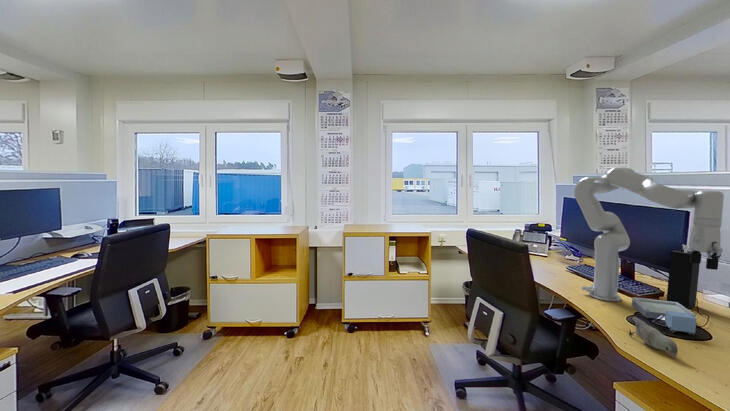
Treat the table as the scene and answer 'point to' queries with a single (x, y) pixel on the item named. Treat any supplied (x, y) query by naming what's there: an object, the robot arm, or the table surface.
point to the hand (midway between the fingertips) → (703, 265)
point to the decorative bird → (654, 338)
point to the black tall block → (682, 278)
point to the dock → (657, 307)
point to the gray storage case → (680, 322)
